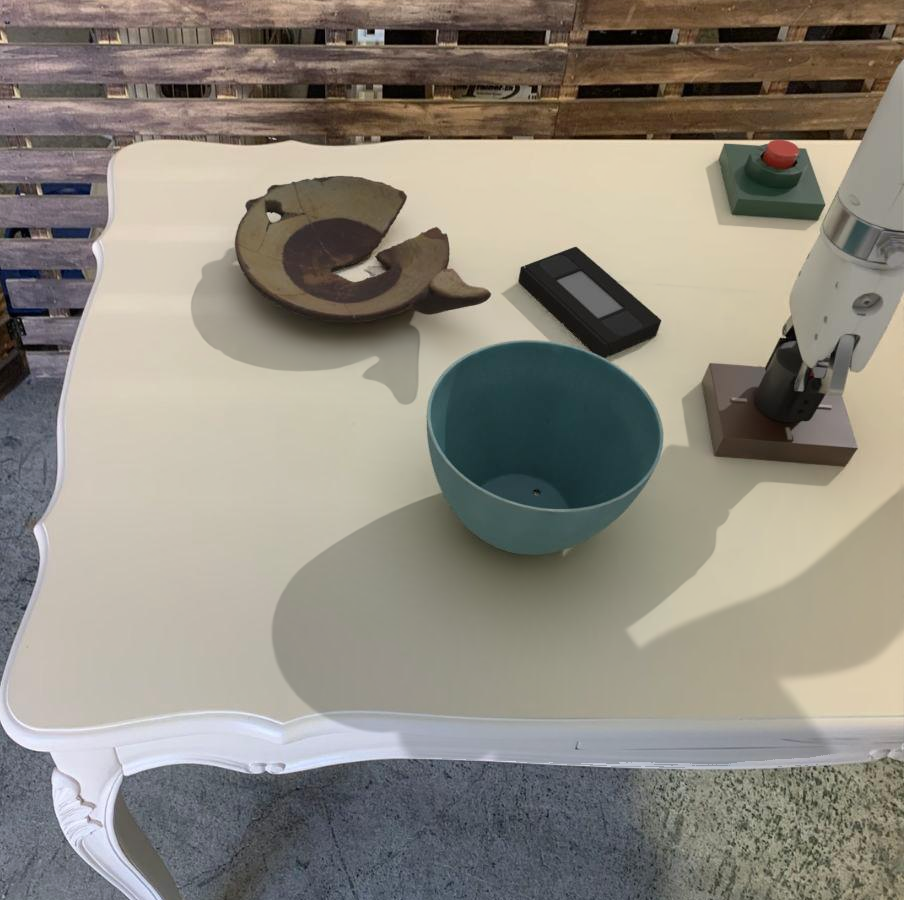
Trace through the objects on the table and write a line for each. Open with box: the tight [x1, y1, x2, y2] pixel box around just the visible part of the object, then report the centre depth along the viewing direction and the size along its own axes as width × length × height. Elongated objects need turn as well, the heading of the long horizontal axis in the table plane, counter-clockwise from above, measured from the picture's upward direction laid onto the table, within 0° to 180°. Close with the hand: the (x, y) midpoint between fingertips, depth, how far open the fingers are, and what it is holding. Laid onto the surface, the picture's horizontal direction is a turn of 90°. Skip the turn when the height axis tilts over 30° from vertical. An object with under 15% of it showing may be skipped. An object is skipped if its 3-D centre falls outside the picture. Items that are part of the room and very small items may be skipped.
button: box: [762, 139, 800, 169], centre depth 106 cm, size 4×4×2 cm
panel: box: [701, 362, 859, 467], centre depth 85 cm, size 12×10×3 cm
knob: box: [754, 341, 830, 422], centre depth 82 cm, size 5×5×6 cm
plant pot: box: [426, 339, 664, 556], centre depth 74 cm, size 18×18×12 cm
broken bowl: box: [234, 175, 492, 323], centre depth 94 cm, size 22×30×8 cm
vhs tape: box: [517, 246, 662, 359], centre depth 95 cm, size 8×14×2 cm, turn 30°
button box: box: [718, 142, 826, 222], centre depth 108 cm, size 10×12×4 cm
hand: (787, 393), depth 83 cm, fingers closed on knob, 5 cm apart
